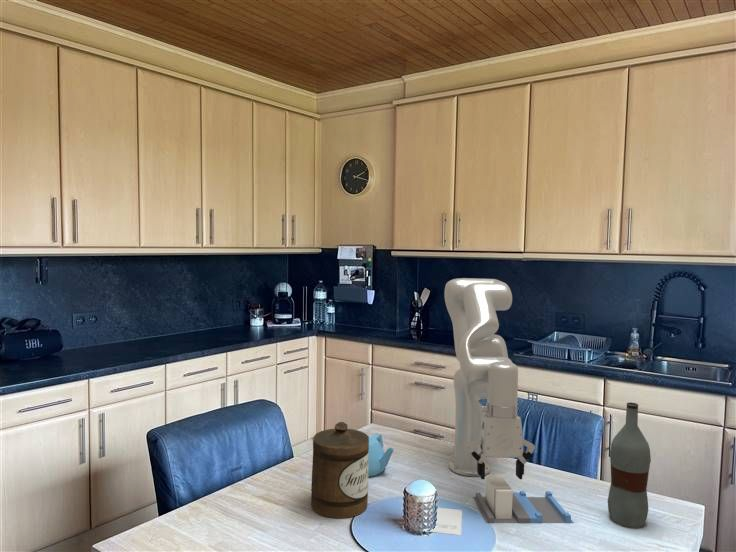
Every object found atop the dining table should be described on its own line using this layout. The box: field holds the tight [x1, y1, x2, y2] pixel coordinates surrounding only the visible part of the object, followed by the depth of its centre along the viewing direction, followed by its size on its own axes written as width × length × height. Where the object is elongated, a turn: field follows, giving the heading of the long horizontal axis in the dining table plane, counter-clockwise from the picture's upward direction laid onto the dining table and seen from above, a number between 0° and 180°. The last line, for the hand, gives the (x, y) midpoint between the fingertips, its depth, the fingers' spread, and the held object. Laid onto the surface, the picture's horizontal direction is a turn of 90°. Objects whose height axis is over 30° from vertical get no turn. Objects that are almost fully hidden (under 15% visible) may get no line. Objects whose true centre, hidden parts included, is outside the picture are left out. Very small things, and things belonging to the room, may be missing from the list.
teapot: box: [366, 432, 395, 478], centre depth 165 cm, size 15×15×11 cm
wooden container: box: [310, 421, 370, 519], centre depth 142 cm, size 15×15×22 cm
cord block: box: [485, 474, 514, 519], centre depth 140 cm, size 10×4×7 cm, turn 2°
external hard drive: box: [426, 507, 463, 537], centre depth 134 cm, size 2×8×12 cm
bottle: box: [607, 401, 652, 529], centre depth 137 cm, size 9×9×30 cm
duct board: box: [472, 490, 575, 524], centre depth 140 cm, size 14×22×3 cm, turn 92°
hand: (500, 477), depth 139 cm, fingers open, 9 cm apart
